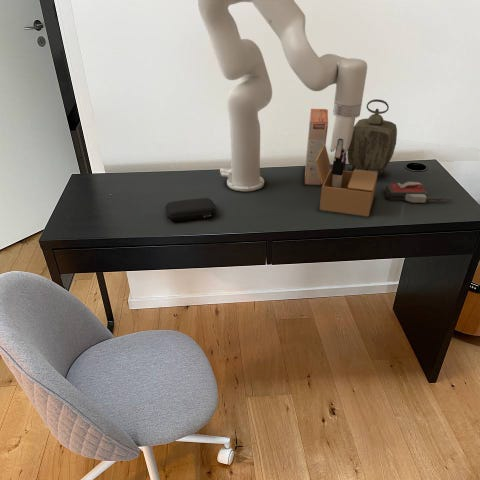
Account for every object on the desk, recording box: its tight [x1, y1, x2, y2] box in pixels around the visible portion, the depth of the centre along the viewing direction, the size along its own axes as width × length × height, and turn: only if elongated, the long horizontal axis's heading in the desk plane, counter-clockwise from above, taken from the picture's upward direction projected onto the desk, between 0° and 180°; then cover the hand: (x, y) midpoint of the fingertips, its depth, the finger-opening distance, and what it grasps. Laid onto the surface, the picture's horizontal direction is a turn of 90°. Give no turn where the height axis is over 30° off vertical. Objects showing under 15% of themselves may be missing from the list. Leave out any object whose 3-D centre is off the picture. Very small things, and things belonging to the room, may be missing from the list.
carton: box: [319, 168, 379, 217], centre depth 152 cm, size 15×14×9 cm
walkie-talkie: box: [384, 181, 452, 204], centre depth 157 cm, size 9×4×20 cm
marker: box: [331, 154, 347, 188], centre depth 151 cm, size 3×3×14 cm
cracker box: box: [304, 108, 329, 186], centre depth 165 cm, size 14×6×21 cm, turn 173°
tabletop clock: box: [346, 99, 398, 176], centre depth 164 cm, size 14×9×25 cm, turn 66°
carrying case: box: [164, 197, 217, 222], centre depth 150 cm, size 11×3×15 cm
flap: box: [315, 144, 332, 185], centre depth 150 cm, size 7×14×1 cm
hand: (338, 171), depth 150 cm, fingers closed on marker, 3 cm apart
